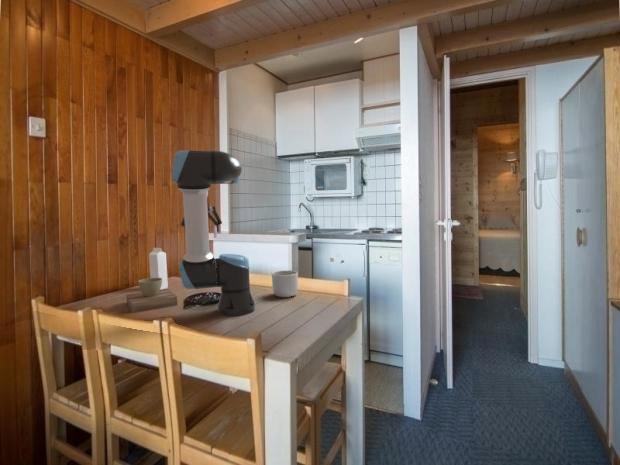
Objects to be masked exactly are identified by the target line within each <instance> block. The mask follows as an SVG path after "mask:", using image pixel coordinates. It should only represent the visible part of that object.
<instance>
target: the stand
mask: <svg viewBox="0 0 620 465" xmlns="http://www.w3.org/2000/svg"><path fill="white" fill-rule="evenodd" d="M177 296H178V295H176V294H175V293H174V292H173V291H171V289H169V288H165V289H161V290H160V291H159V293H158V295H156V296H153V297H145V296H144V294H143V293H142V291H141V292H135V293H131V294H129V293H128V294H126V304H127V306H128V308H129V310H130V311H131V313H132V314H133V313H140V312H145V311H146V312H147V311H150V310H157V309H162V308H168V307H175V306H178V297H177Z"/></svg>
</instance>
